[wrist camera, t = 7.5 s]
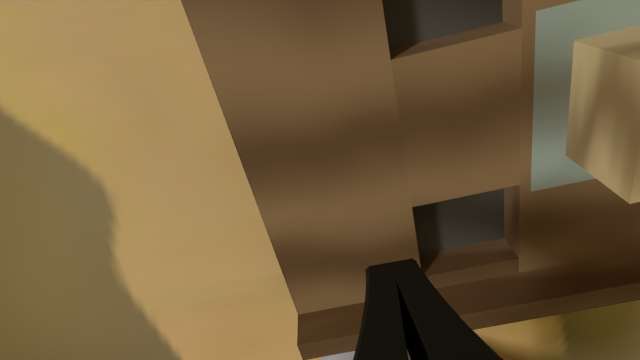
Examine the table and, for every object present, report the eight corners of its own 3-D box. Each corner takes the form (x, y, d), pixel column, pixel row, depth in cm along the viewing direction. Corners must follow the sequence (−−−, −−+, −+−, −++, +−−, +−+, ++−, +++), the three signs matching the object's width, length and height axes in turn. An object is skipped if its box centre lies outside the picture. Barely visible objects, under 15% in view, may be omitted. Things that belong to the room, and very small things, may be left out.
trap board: (645, 236, 23) (707, 287, 19) (303, 302, 24) (303, 360, 21) (748, -257, 13) (913, -338, 9) (165, -88, 15) (120, -103, 11)
